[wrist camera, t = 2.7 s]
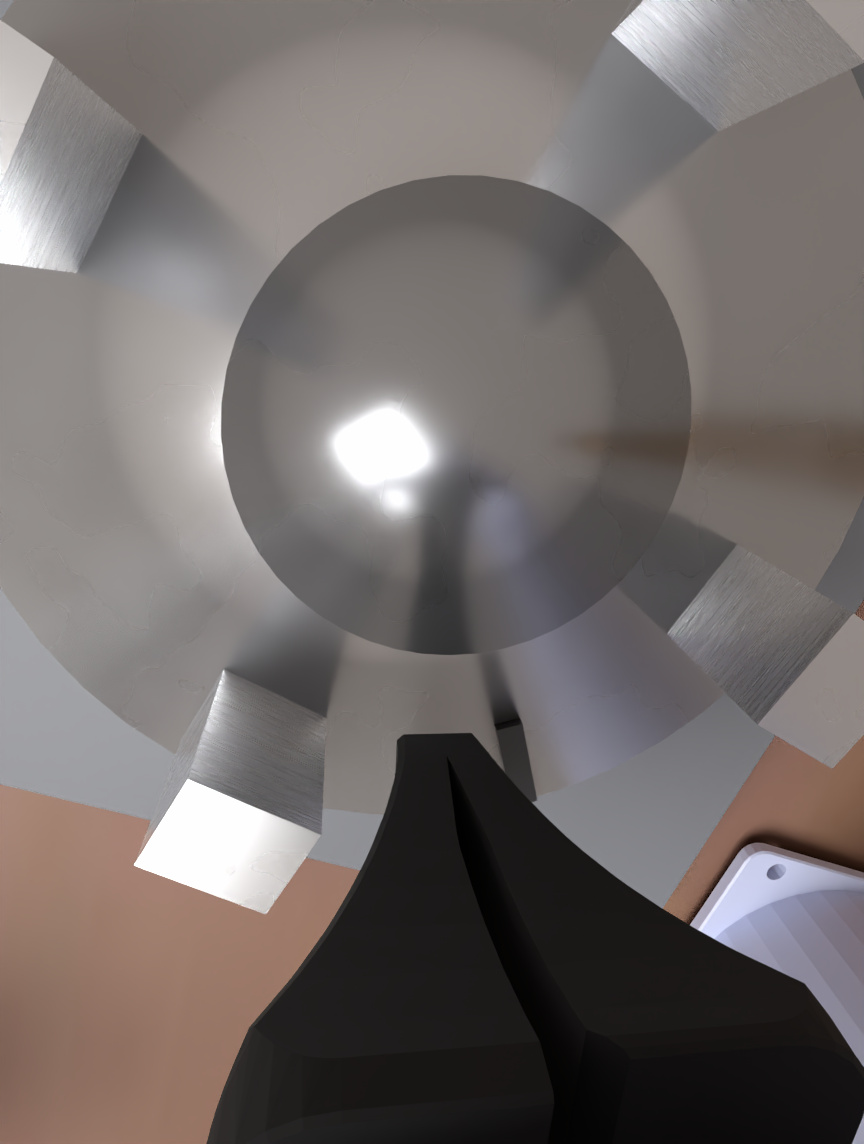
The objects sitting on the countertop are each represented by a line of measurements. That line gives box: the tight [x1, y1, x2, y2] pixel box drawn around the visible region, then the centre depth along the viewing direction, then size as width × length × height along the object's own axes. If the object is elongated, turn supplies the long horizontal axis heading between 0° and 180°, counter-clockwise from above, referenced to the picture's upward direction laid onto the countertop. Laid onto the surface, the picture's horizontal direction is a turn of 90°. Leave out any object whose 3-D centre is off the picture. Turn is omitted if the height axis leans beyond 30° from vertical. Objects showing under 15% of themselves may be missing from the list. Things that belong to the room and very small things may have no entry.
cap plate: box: [0, 0, 864, 908], centre depth 13 cm, size 20×20×1 cm
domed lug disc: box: [0, 0, 864, 914], centre depth 10 cm, size 15×15×4 cm
